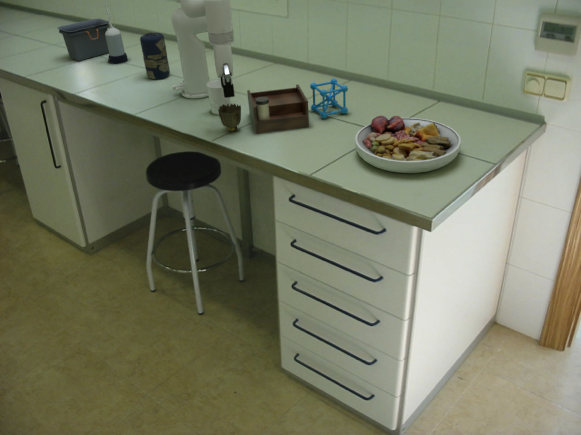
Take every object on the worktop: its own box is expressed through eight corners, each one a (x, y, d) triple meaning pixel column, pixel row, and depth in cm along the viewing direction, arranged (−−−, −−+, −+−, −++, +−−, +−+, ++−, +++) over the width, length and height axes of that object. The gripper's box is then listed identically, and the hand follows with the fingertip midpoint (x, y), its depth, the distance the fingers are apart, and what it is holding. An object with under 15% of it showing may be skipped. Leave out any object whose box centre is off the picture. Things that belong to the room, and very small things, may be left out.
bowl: (481, 155, 170) (485, 130, 166) (406, 189, 156) (407, 163, 152) (406, 124, 191) (408, 101, 187) (334, 151, 177) (333, 127, 173)
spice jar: (258, 123, 191) (256, 102, 187) (256, 118, 195) (254, 97, 191) (271, 121, 192) (269, 100, 188) (269, 116, 195) (267, 96, 191)
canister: (159, 81, 240) (151, 36, 230) (142, 78, 244) (133, 34, 235) (175, 74, 247) (168, 30, 237) (158, 71, 251) (150, 28, 241)
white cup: (215, 117, 205) (211, 89, 200) (206, 109, 211) (203, 82, 206) (236, 112, 208) (232, 84, 203) (227, 105, 214) (224, 78, 209)
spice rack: (255, 133, 192) (253, 107, 187) (249, 115, 205) (247, 90, 200) (309, 126, 194) (308, 100, 189) (299, 109, 207) (298, 84, 202)
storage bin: (104, 47, 287) (97, 17, 279) (120, 53, 277) (114, 21, 269) (62, 58, 275) (54, 27, 267) (78, 65, 265) (70, 32, 257)
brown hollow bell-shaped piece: (239, 135, 191) (237, 112, 187) (217, 134, 193) (214, 111, 188) (245, 126, 197) (243, 103, 193) (224, 125, 199) (221, 102, 194)
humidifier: (106, 61, 267) (93, 4, 254) (122, 57, 272) (110, 0, 258) (114, 65, 262) (102, 6, 248) (131, 60, 266) (119, 2, 253)
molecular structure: (309, 110, 206) (308, 82, 200) (335, 104, 209) (335, 77, 204) (322, 120, 198) (321, 91, 193) (349, 114, 201) (349, 85, 196)
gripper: (207, 31, 186) (214, 84, 194) (210, 45, 171) (218, 102, 180) (230, 29, 186) (236, 81, 195) (236, 43, 172) (242, 99, 181)
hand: (228, 91), depth 188 cm, fingers open, 9 cm apart
